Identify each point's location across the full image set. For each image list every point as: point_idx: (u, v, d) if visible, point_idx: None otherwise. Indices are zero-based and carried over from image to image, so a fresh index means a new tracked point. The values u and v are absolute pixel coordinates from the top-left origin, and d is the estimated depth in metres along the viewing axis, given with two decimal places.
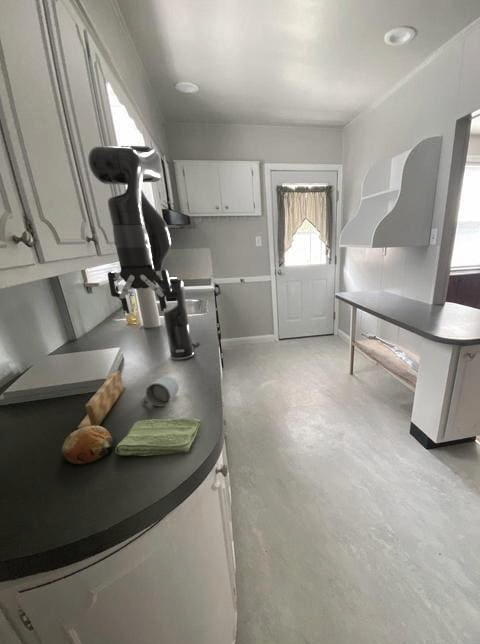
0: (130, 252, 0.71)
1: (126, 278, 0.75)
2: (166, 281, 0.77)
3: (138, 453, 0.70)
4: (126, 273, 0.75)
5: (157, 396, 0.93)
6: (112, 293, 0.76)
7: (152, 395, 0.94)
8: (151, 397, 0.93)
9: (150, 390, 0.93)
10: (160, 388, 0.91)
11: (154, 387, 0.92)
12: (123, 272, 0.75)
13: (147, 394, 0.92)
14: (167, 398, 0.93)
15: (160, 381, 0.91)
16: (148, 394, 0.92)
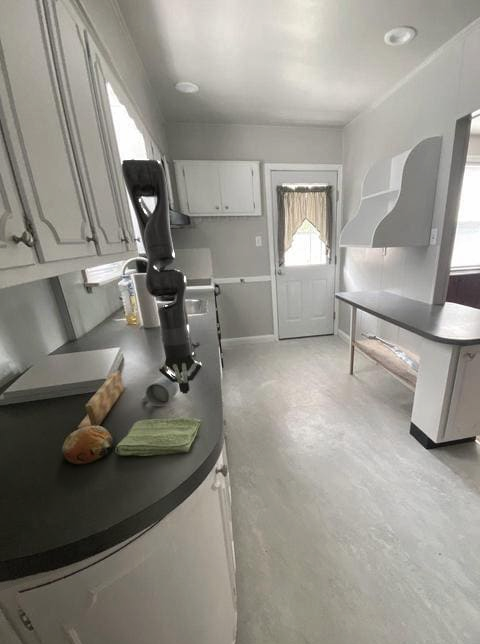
0: (175, 348, 0.87)
1: (170, 366, 0.91)
2: (196, 372, 0.93)
3: (138, 453, 0.70)
4: (169, 361, 0.90)
5: (157, 396, 0.93)
6: (172, 380, 0.93)
7: (152, 395, 0.94)
8: (151, 397, 0.93)
9: (150, 390, 0.93)
10: (160, 388, 0.91)
11: (154, 387, 0.92)
12: (167, 362, 0.90)
13: (147, 394, 0.92)
14: (167, 398, 0.93)
15: (160, 381, 0.91)
16: (148, 394, 0.92)
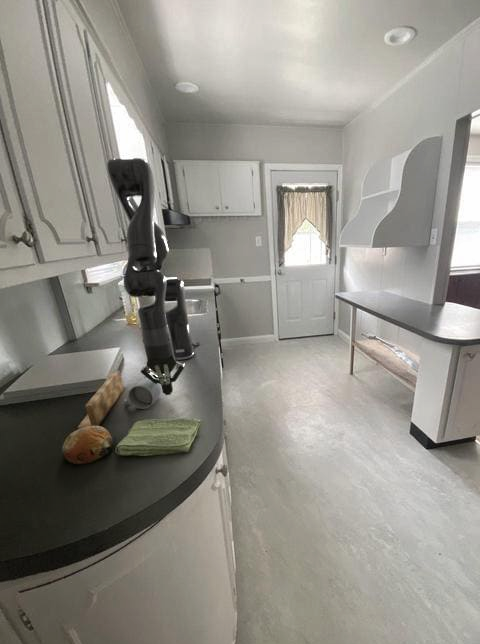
0: (156, 349, 0.86)
1: (152, 367, 0.90)
2: (178, 373, 0.92)
3: (138, 453, 0.70)
4: (150, 362, 0.89)
5: (140, 398, 0.92)
6: (154, 382, 0.92)
7: (134, 398, 0.92)
8: (134, 400, 0.92)
9: (132, 393, 0.92)
10: (143, 390, 0.90)
11: (136, 389, 0.90)
12: (148, 363, 0.89)
13: (129, 397, 0.90)
14: (150, 400, 0.92)
15: (143, 383, 0.90)
16: (130, 397, 0.91)
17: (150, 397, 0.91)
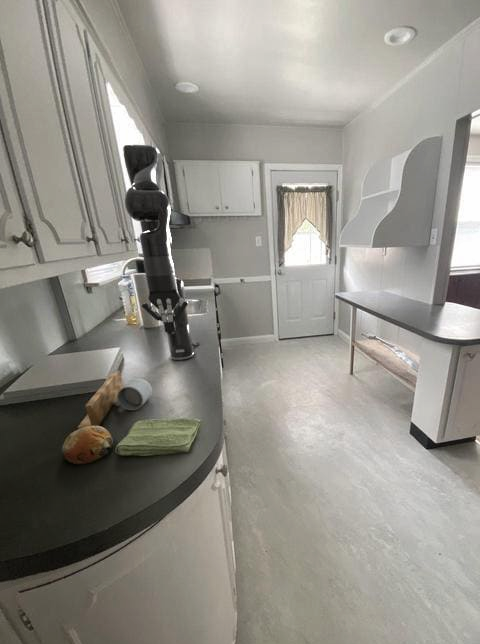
0: (158, 279, 0.81)
1: (154, 301, 0.85)
2: (181, 310, 0.87)
3: (138, 453, 0.70)
4: (152, 296, 0.85)
5: (129, 400, 0.91)
6: (156, 318, 0.87)
7: (124, 399, 0.92)
8: (123, 401, 0.91)
9: (122, 394, 0.91)
10: (132, 391, 0.90)
11: (126, 391, 0.90)
12: (150, 297, 0.85)
13: (118, 398, 0.89)
14: (140, 401, 0.91)
15: (132, 384, 0.89)
16: (120, 398, 0.90)
17: (139, 398, 0.91)
